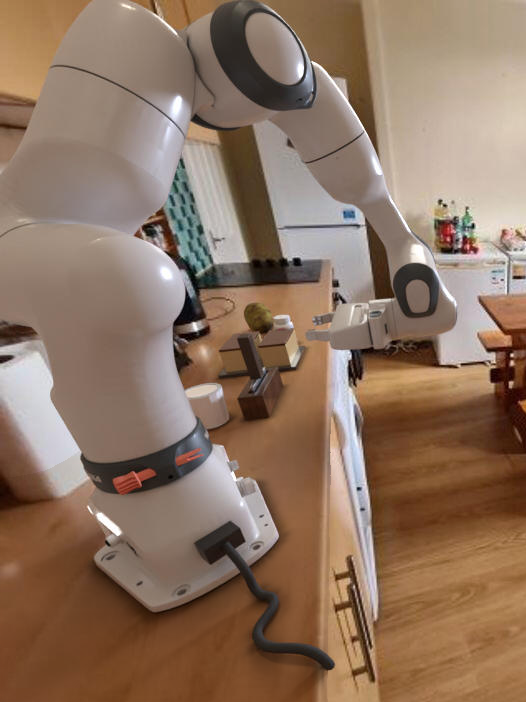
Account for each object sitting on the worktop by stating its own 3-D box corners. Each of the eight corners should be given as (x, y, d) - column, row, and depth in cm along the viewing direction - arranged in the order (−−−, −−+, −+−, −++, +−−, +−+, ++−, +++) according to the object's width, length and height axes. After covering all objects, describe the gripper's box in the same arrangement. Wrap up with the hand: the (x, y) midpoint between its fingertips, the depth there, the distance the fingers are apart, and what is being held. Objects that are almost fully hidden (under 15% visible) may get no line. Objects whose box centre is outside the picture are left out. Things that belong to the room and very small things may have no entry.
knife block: (269, 416, 83) (262, 394, 81) (244, 420, 82) (236, 398, 80) (283, 386, 95) (277, 366, 93) (262, 389, 94) (255, 369, 92)
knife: (265, 412, 84) (242, 344, 78) (254, 414, 84) (230, 345, 77) (275, 391, 93) (256, 327, 86) (266, 392, 92) (245, 328, 86)
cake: (296, 369, 103) (289, 344, 100) (219, 378, 99) (209, 353, 96) (305, 348, 116) (299, 325, 113) (237, 355, 112) (229, 332, 109)
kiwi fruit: (244, 338, 124) (236, 312, 120) (249, 326, 134) (242, 301, 131) (275, 334, 127) (268, 309, 123) (278, 322, 137) (271, 298, 134)
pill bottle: (281, 349, 116) (273, 320, 112) (277, 344, 119) (269, 316, 115) (300, 345, 118) (292, 316, 114) (295, 340, 121) (288, 313, 118)
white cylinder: (213, 433, 78) (199, 400, 75) (182, 429, 79) (168, 397, 76) (241, 414, 84) (230, 383, 81) (212, 411, 85) (200, 381, 82)
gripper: (378, 293, 95) (313, 299, 92) (377, 320, 78) (297, 328, 74) (382, 320, 98) (319, 326, 95) (382, 352, 80) (306, 361, 77)
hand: (309, 327), depth 84 cm, fingers open, 8 cm apart
